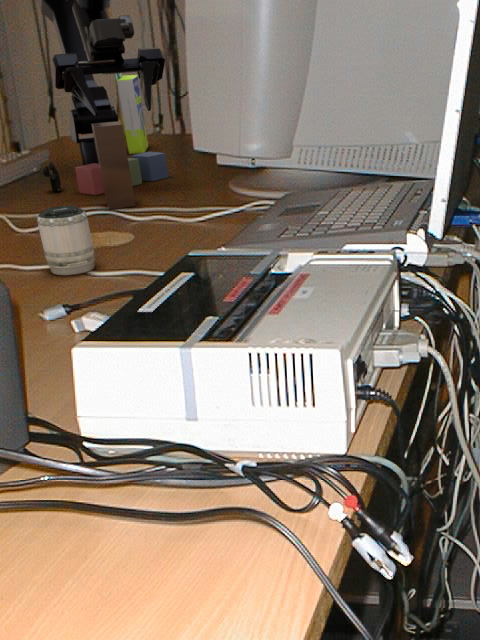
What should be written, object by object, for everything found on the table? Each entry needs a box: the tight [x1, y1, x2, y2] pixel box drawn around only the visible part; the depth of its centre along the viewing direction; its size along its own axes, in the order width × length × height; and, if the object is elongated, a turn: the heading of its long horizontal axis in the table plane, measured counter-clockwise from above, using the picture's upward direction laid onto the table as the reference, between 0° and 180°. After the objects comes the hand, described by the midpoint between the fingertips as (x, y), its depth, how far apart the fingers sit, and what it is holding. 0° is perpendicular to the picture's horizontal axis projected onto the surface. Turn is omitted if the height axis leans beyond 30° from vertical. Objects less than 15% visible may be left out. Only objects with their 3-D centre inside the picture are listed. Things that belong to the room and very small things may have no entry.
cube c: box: [74, 163, 104, 196], centre depth 166 cm, size 4×4×4 cm
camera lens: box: [36, 205, 96, 276], centre depth 119 cm, size 6×6×8 cm
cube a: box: [131, 151, 170, 182], centre depth 175 cm, size 4×4×4 cm
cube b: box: [128, 157, 143, 187], centre depth 171 cm, size 4×4×4 cm
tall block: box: [92, 120, 137, 210], centre depth 152 cm, size 5×4×13 cm
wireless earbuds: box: [42, 161, 62, 193], centre depth 167 cm, size 7×2×5 cm, turn 15°
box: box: [114, 73, 149, 155], centre depth 203 cm, size 10×4×17 cm, turn 8°
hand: (123, 112), depth 155 cm, fingers open, 9 cm apart
